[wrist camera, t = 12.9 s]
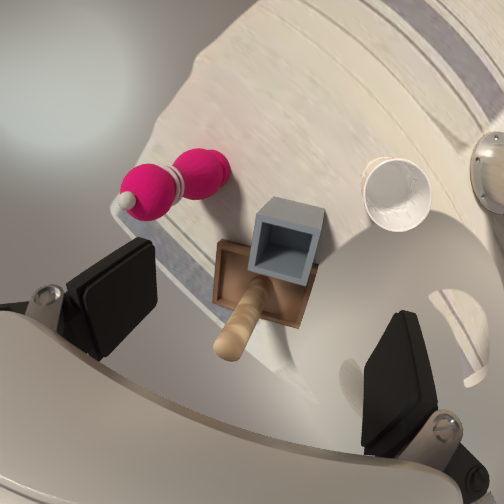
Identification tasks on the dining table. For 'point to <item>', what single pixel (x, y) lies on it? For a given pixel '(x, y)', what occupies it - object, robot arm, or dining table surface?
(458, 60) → the dining table surface
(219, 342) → the dowel
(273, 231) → the grey hollow box
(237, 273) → the tray
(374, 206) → the white cup
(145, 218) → the pepper mill
